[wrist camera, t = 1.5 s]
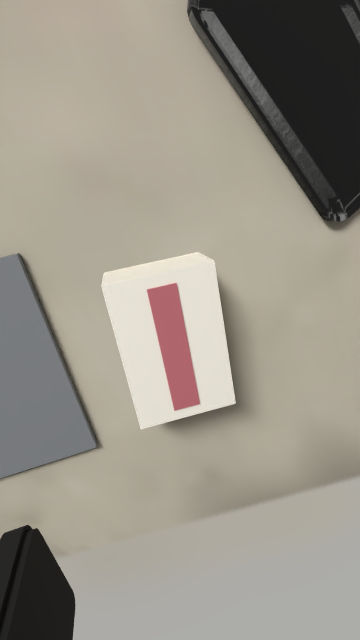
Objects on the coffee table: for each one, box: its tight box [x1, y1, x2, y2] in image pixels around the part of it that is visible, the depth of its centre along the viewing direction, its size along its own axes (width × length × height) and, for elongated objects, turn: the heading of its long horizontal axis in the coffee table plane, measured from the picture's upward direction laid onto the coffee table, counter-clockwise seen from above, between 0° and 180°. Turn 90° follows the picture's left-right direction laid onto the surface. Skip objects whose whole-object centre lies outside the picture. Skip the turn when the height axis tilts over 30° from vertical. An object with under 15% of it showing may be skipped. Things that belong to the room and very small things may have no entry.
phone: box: [187, 0, 360, 221], centre depth 19 cm, size 8×1×15 cm
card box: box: [101, 252, 236, 429], centre depth 20 cm, size 6×9×4 cm, turn 11°
